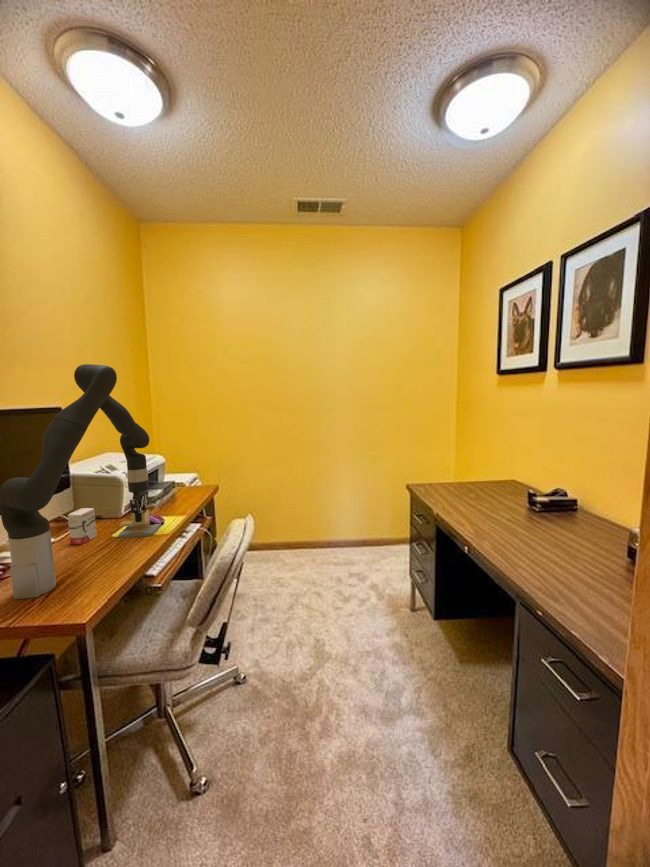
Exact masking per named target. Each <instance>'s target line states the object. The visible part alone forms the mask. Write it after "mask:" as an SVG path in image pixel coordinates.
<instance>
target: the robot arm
mask: <svg viewBox="0 0 650 867" xmlns="http://www.w3.org/2000/svg"><path fill="white" fill-rule="evenodd" d="M73 374H74V375H73V378H74V382H75V384H76V385H77V387H79V389H80V390H81V391H82V392H83V394H82V395H81V396H80V397H79V398H77V399H76V400H75V401H73V402H72V403H70V404H69V405H67V406H66V407H64V408H63V409H61V410H60V411H59V412H58V413H57V414H55V416H54V417H53V418H52V420H51V422H50V423H49V425H48V426H47V428H46V429H45V432H44V433H43V436H42V451H41V452H42V454H41V458H40V460H39V463H38V464H37V466H36V468H35V469H34V471H33V472H32V474H31V475H30V476H29V477H22V476H21V477H20V476H19V477H12V478H9V479H7V480H6V481H4V483H3V484H2V485H1V487H0V518H1V523H2V526H3V528H4V530H5V531H6V532H7V533H6V534H7V538H8V545H9V554H10V562H11V566H10V568H9V571H10V576H11V577H10V579H11V585H12V588H11V589H12V595H13V600H22V599H32V598H33V599H35V598H39V597H40V596H42V595H44V594H47V593H49V592H50V591H52V590H53V589H54V588H56V586H57V579H56V571H55V569H56V568H55V561H54V556H53V555H54V553H53V546H52V544H53V543H52V534H51V528H50V527H51V526H50V521H49V520H48V518H47V517H45V516H43V515H42V514H41V513H40V511H41V510H42V509H44V508H45V507H46V506H48V504H49V503H50V502H51V500H52V498H53V496H54V495H55V492H56V490H57V488H58V485H59V483H60V480H61V478H62V475H63V473H64V471H65V469H66V467H67V465H68V464H69V462H70V460H71V458H72V457H73V454H74V452H75V450H76V448H77V447H78V446H79V444H80V443H81V441H82V439H83V437H84V436H85V434H86V431H87V430H88V428H89V426H90V425H91V423H92V421H93V419H94V418H95V416H96V414H97V413H98V411H99V410H101V411H102V412H103V414H104V415H105V416H106V417H107V418H108V419H109V421H110V423H111V425H112V426H113V427H114V428H115V430H116V431H117V432H118V433H119V434H121V435H120V438H119V443H120V447H121V449H122V451H123V454H124V457H125V459H126V460H125V461H126V468H127V473H126V474H127V475H126V476H127V488H128V492H129V493H131V494H132V499H130V500H129V505H130V508H131V509H130V510H131V511H130V512H131V514H132V513H135V522H141V521H142V517H141V510H147V508H148V506H149V491H148V490H149V489H150V484H149V471H148V468H147V456H146V454H143V453H140V452H137V451H136V449H144V448H147V447H148V446H149V445H150V436H149V434H148V432H147V431H146V430H145V429H144V428H143V427H142V426H141V425H140V424H138V423H137V422H136V421H135V420H134V418H133V416H132V415H131V413H130V412H129V411H128V409H127V408H126V407H125V406H124V405H122V404H121V403H120V402H119V401H117V400H116V399H115V398H113V397H112V396H111V393H112V392H113V390H114V388H115V386H116V384H117V380H118V379H117V378H118V376H117V372H116V370H115V369H114V368H113V367H112V366H109V365H104V364H92V363H89V364H88V363H85V364H80V365H78V366H76V369H75V370H74V373H73Z"/></svg>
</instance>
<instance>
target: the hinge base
mask: <svg viewBox="0 0 650 867" xmlns="http://www.w3.org/2000/svg"><path fill="white" fill-rule="evenodd" d="M141 513H143V511H141ZM150 521H151V520H149V522H148V523H147V524H146V525H138V526H125V528H124V529H123V530H122V531H120V533H118V534H117V536H118V539H119V538H135V537H149V536H154V535H155V534H156V533H157V532H158V530H159V529H160V528H161V527H162V525H161V523H162V522H164V521H165V520H162V522H161V523H160V524H154V525H150Z"/></svg>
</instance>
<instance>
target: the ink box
mask: <svg viewBox="0 0 650 867" xmlns="http://www.w3.org/2000/svg"><path fill="white" fill-rule="evenodd" d="M67 521H68V530H69V540H70V545H71V546H72V545H84V544H85V543H87V542H89V541H91V540H92V539H94V538H96V537H97V536H98V535H97V527H96V526H97V525H96V515H95V508H92V507H91V508H90V507H82V508H79V509H77V510H75V511H73V512H70V513H68V515H67Z"/></svg>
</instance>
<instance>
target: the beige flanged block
mask: <svg viewBox="0 0 650 867" xmlns="http://www.w3.org/2000/svg"><path fill="white" fill-rule="evenodd" d="M141 511H143V513H141V517H142V521H141V522H135V513H132V512H131V520H123V521H122V522H120V523H119V524H118V526H119V527H122V528H123V527H127V526H138V525H146V524H147V523H148V522H149V521H150V510H149V509H146V510H141Z"/></svg>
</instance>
